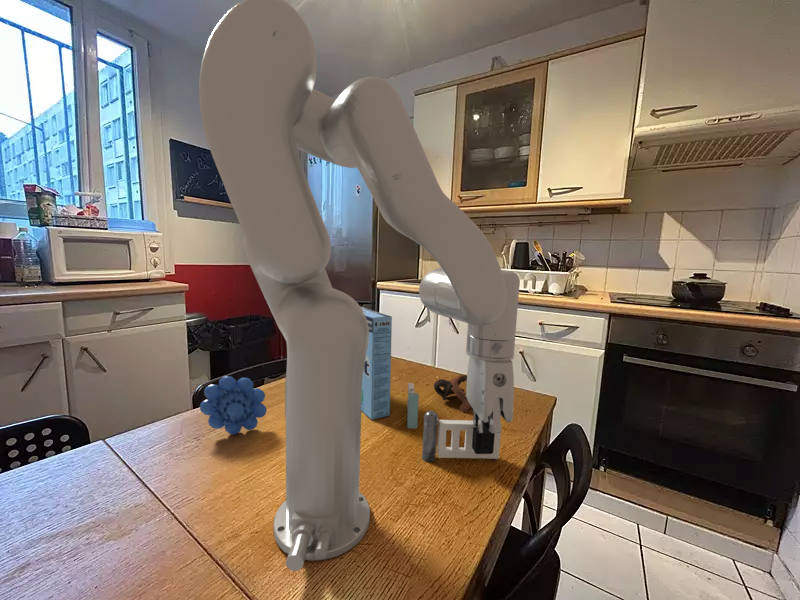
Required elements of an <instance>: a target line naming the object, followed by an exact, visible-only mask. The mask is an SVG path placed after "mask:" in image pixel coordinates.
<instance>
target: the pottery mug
mask: <svg viewBox="0 0 800 600" xmlns="http://www.w3.org/2000/svg"><path fill="white" fill-rule="evenodd" d="M464 382H467V374H459V375H457V376H456V377H453V378H452V379H450V380H446V379H445V378H444V379H443V378H441V379H440V378H439V379H437V380H436V381H435V382H434V383H433V388H434V391H435V393H436V394H437V395H439V396H440V397H441V398H442V400H443V401H446V400H447V398H448V396H451V395H456V397H457V398H458V399H459V400H460V401H462V403H461V405H460V406H459V410H460V411H462V412H464V413H465V412H467V411H468V410H469V409H473V408H472V406H471V405H470V403H469V402H468V400H467V396H466V391H465V390H466V389H465V388H462V387H460V384H461V383H464ZM442 388H443V389H442Z"/></svg>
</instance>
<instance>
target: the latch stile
mask: <svg viewBox="0 0 800 600" xmlns="http://www.w3.org/2000/svg"><path fill="white" fill-rule="evenodd" d="M407 404H408V409H407V422H406V425H407V427H406V428H407V429H418V420H419V418H418V417H419V393H418V392H415V393H409V395H408V394H407Z"/></svg>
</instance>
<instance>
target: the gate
mask: <svg viewBox="0 0 800 600" xmlns="http://www.w3.org/2000/svg"><path fill="white" fill-rule="evenodd" d="M502 426H503V425H502V424H501V428H502ZM473 427H476V426H474V425H473V420H466V419H465V420H463V419H462V420H461V419H459V420H458V419H457V420H456V419H438V432H437V448H436V454H437V457H438V458H440V459H441V458H443V459H444V458H445V459H446V458H448V459H455V458H456V459H492V460H494V461H496V460H500V445H501V437H502V436H501V434H502V432H501V433H495V437H494V449H493V453H492V454H475V452H474V450H473V448H472V438H473ZM447 431H451V440H450V446H447V445H446V444H447ZM461 431H463V432H464V431H465V432H464V433H465V434H464V447H462V446H461V447H460V436H461V435H460V434H461Z"/></svg>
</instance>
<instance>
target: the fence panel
mask: <svg viewBox="0 0 800 600" xmlns="http://www.w3.org/2000/svg"><path fill="white" fill-rule="evenodd" d="M407 385H408V387H407V396H408V395H409V393H416V391H415V388H414V387H415V386H414V385H415V384H414V383H410V382H409V383H408V384H407ZM406 409H407V410H408V403H407V408H406Z"/></svg>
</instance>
